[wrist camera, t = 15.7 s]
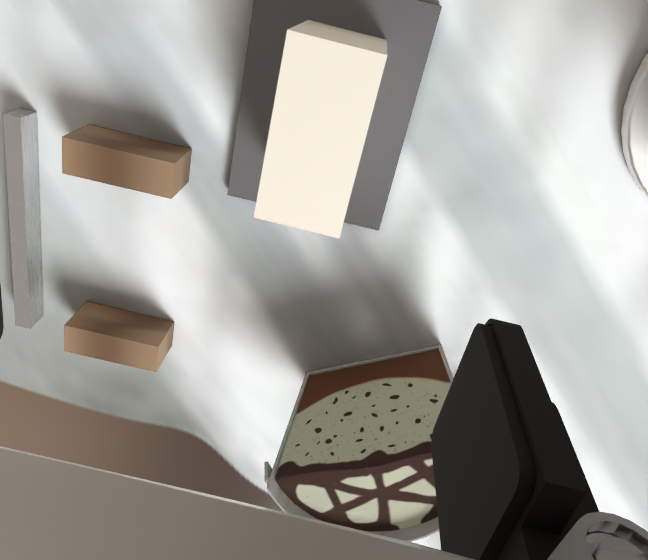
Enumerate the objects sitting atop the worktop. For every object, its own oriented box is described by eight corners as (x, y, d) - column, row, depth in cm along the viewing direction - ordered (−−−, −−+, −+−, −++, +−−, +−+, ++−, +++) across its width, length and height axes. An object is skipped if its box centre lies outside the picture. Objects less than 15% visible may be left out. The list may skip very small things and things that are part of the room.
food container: (313, 442, 42) (295, 564, 33) (285, 376, 39) (257, 490, 30) (482, 411, 39) (510, 537, 30) (464, 339, 36) (489, 452, 28)
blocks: (191, 148, 32) (174, 163, 30) (171, 345, 39) (156, 372, 36) (19, 108, 32) (-14, 119, 29) (28, 312, 39) (2, 336, 36)
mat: (440, 5, 28) (441, 6, 27) (378, 226, 33) (378, 230, 33) (261, -38, 28) (259, -39, 27) (229, 191, 33) (227, 194, 33)
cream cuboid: (386, 39, 28) (387, 55, 22) (347, 189, 32) (339, 238, 26) (308, 19, 28) (287, 29, 22) (278, 172, 32) (253, 217, 26)
